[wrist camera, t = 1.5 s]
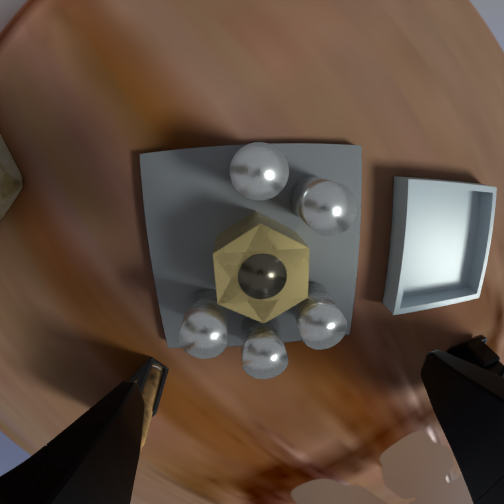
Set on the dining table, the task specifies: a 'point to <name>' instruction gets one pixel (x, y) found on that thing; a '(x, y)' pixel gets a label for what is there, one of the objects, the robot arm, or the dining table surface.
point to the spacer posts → (319, 300)
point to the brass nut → (260, 267)
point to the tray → (437, 243)
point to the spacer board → (232, 211)
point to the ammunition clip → (150, 390)
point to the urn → (8, 179)
